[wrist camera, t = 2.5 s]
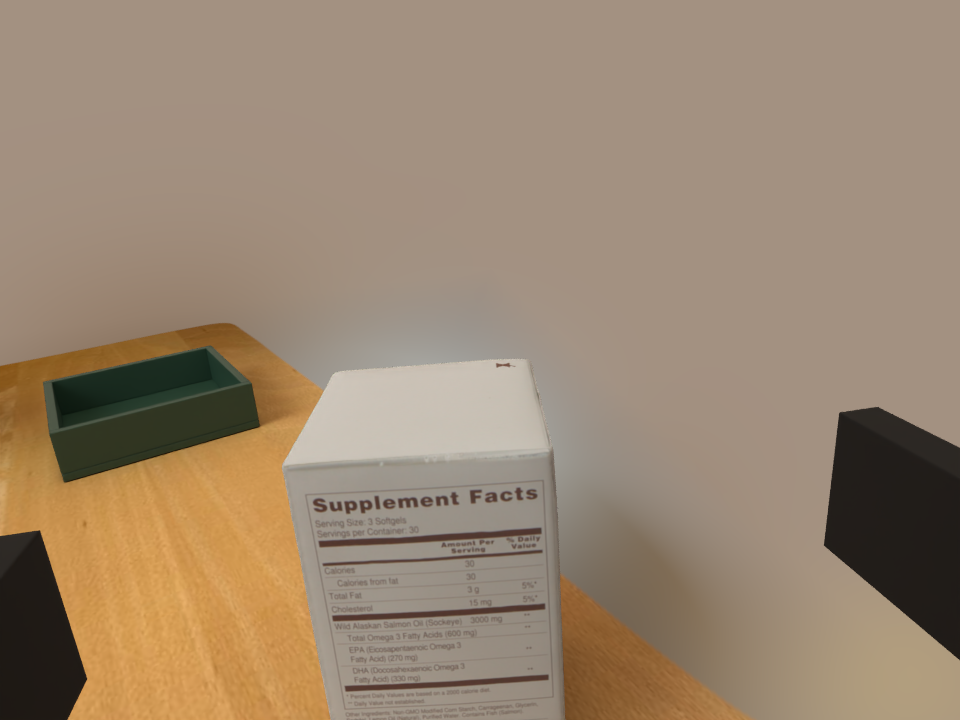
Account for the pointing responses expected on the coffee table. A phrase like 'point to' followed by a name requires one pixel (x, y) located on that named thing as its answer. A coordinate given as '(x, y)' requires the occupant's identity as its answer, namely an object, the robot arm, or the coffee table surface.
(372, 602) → the white packaging box
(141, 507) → the coffee table surface
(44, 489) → the coffee table surface
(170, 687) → the coffee table surface
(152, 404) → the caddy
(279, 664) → the coffee table surface
